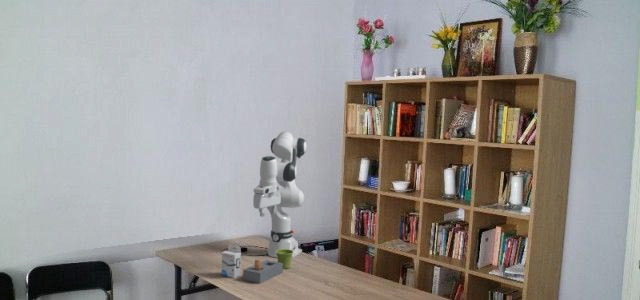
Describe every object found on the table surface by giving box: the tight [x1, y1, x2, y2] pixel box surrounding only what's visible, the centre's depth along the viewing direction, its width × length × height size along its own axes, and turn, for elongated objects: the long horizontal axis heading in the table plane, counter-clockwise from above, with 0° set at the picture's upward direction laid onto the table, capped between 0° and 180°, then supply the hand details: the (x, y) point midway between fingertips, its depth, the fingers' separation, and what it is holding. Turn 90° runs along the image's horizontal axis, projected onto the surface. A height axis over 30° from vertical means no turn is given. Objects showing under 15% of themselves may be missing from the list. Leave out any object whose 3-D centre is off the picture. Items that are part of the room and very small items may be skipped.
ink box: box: [220, 243, 242, 279], centre depth 234 cm, size 8×5×15 cm, turn 61°
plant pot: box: [276, 249, 293, 270], centre depth 250 cm, size 9×9×9 cm
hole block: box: [242, 259, 284, 284], centre depth 235 cm, size 20×10×5 cm, turn 152°
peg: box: [254, 259, 262, 271], centre depth 230 cm, size 3×3×9 cm
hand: (267, 215), depth 243 cm, fingers open, 8 cm apart
